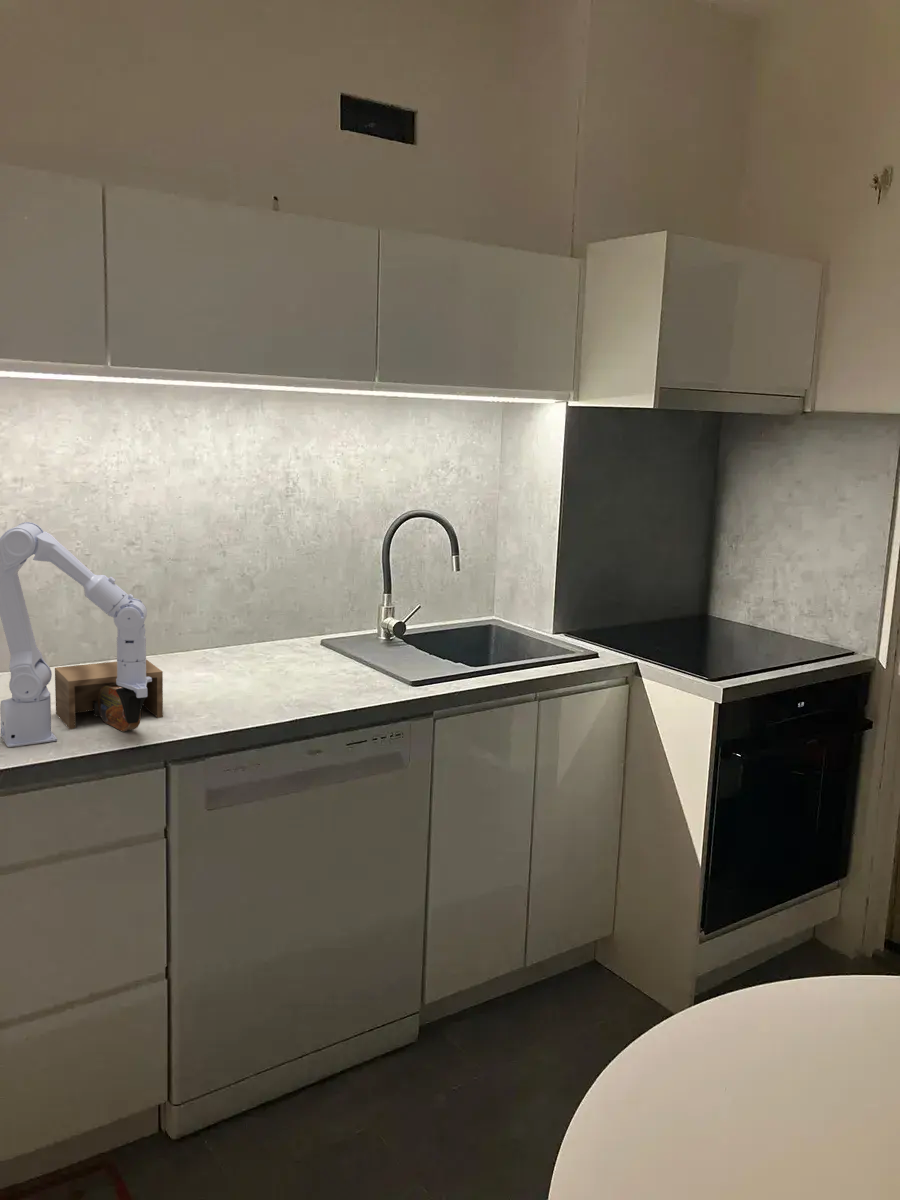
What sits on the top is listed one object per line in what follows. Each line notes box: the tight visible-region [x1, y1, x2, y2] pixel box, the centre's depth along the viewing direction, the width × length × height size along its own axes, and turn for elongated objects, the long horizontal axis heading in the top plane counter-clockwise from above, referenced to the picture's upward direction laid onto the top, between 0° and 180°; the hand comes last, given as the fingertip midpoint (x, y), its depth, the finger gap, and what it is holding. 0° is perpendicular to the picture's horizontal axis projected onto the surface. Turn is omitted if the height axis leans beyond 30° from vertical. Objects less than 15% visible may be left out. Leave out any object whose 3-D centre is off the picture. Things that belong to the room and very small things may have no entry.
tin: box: [98, 685, 142, 732], centre depth 217 cm, size 15×3×8 cm, turn 45°
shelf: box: [54, 659, 164, 730], centre depth 223 cm, size 20×12×10 cm, turn 124°
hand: (132, 722), depth 210 cm, fingers closed
